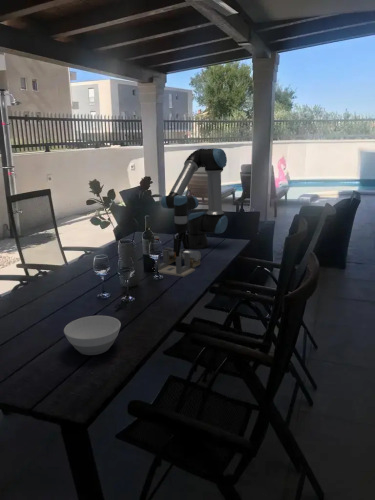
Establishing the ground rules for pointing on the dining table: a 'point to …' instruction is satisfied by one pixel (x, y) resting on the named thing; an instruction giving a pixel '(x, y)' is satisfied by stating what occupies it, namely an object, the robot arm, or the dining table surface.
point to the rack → (192, 263)
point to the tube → (193, 254)
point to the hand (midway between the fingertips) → (182, 261)
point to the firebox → (174, 270)
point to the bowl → (92, 334)
